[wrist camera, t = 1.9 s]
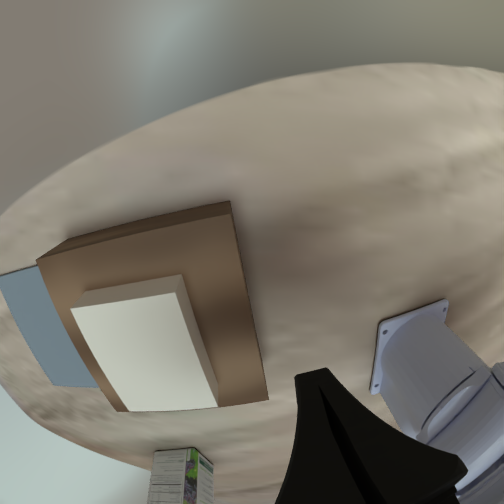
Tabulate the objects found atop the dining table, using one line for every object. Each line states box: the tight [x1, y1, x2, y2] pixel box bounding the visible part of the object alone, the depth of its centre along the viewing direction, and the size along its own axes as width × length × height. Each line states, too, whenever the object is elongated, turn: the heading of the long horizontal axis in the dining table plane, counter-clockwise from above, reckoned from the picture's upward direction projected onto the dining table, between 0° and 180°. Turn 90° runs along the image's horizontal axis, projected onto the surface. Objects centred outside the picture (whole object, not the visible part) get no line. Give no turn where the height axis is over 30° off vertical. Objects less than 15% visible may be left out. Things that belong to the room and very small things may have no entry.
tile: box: [70, 274, 218, 411], centre depth 14 cm, size 8×6×2 cm
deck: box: [36, 201, 269, 412], centre depth 17 cm, size 13×12×4 cm
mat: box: [0, 265, 100, 388], centre depth 19 cm, size 12×10×1 cm
